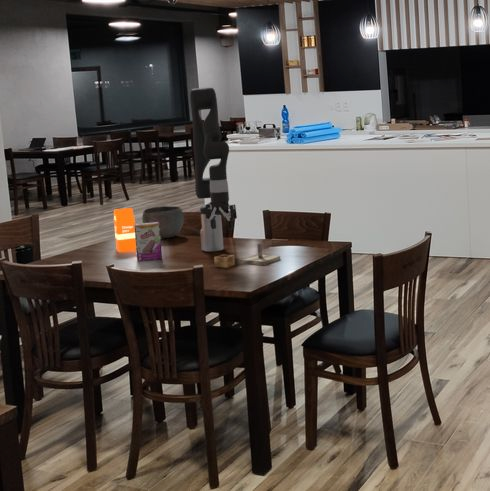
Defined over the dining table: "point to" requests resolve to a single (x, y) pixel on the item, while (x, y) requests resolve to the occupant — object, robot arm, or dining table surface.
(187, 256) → the dining table surface
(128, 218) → the orange juice
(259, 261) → the wooden peg stand
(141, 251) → the candy bar box
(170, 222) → the bowl
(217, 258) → the small wooden box
